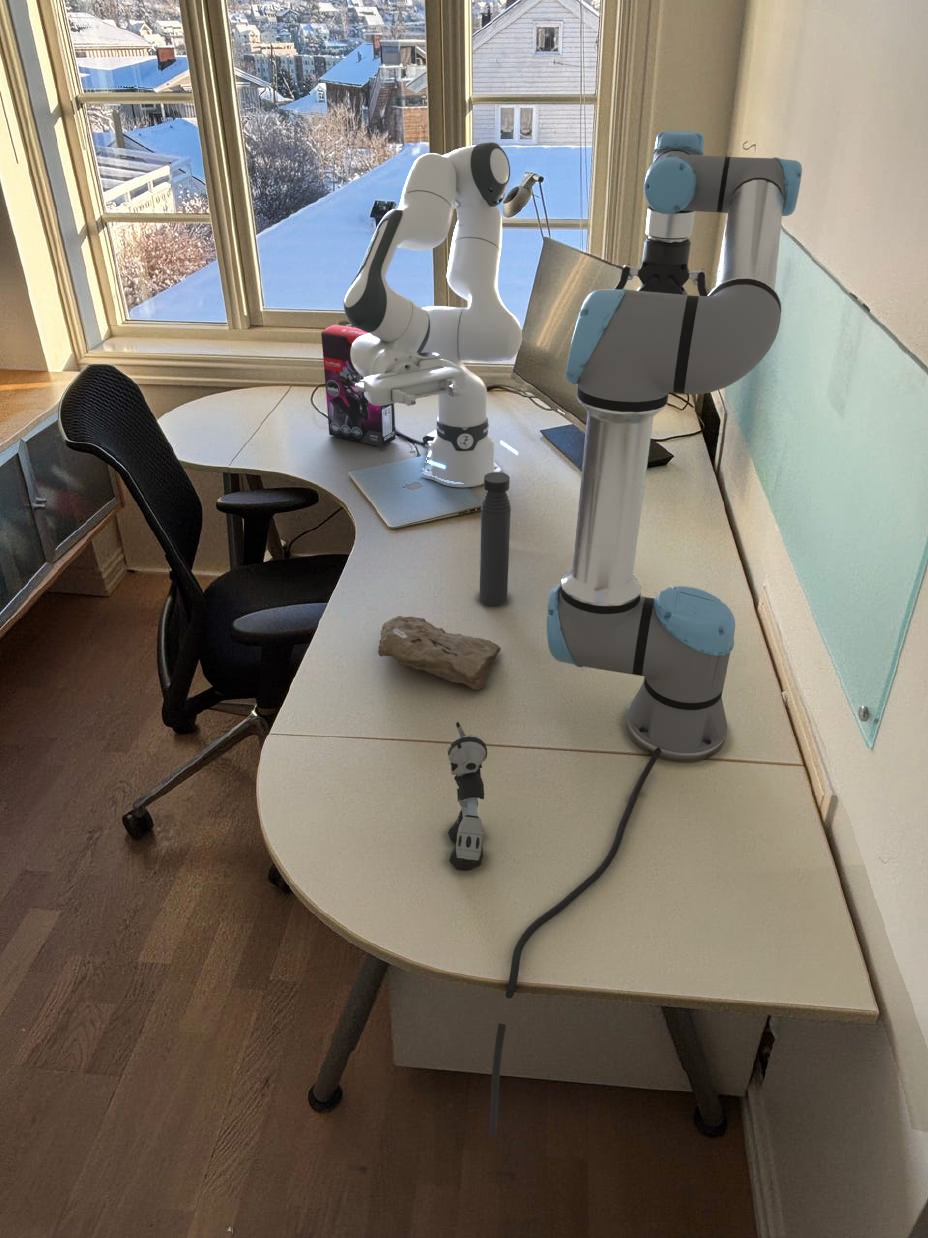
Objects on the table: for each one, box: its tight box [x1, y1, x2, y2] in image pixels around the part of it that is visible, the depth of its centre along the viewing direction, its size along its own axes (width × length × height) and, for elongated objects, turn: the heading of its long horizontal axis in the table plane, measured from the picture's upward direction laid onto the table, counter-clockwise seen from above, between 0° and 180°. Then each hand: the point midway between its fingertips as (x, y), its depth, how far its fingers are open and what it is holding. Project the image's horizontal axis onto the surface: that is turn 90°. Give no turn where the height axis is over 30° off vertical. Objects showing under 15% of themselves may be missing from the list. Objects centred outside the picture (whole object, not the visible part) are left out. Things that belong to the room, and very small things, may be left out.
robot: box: [447, 721, 488, 871], centre depth 117 cm, size 20×5×20 cm, turn 3°
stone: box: [377, 615, 502, 691], centre depth 155 cm, size 21×15×6 cm
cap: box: [483, 471, 511, 493], centre depth 161 cm, size 4×4×2 cm
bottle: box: [479, 491, 512, 608], centre depth 167 cm, size 5×5×25 cm
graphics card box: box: [320, 324, 396, 448], centre depth 230 cm, size 17×7×27 cm, turn 62°
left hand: (434, 396), depth 171 cm, fingers open, 8 cm apart
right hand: (652, 364), depth 163 cm, fingers open, 13 cm apart
